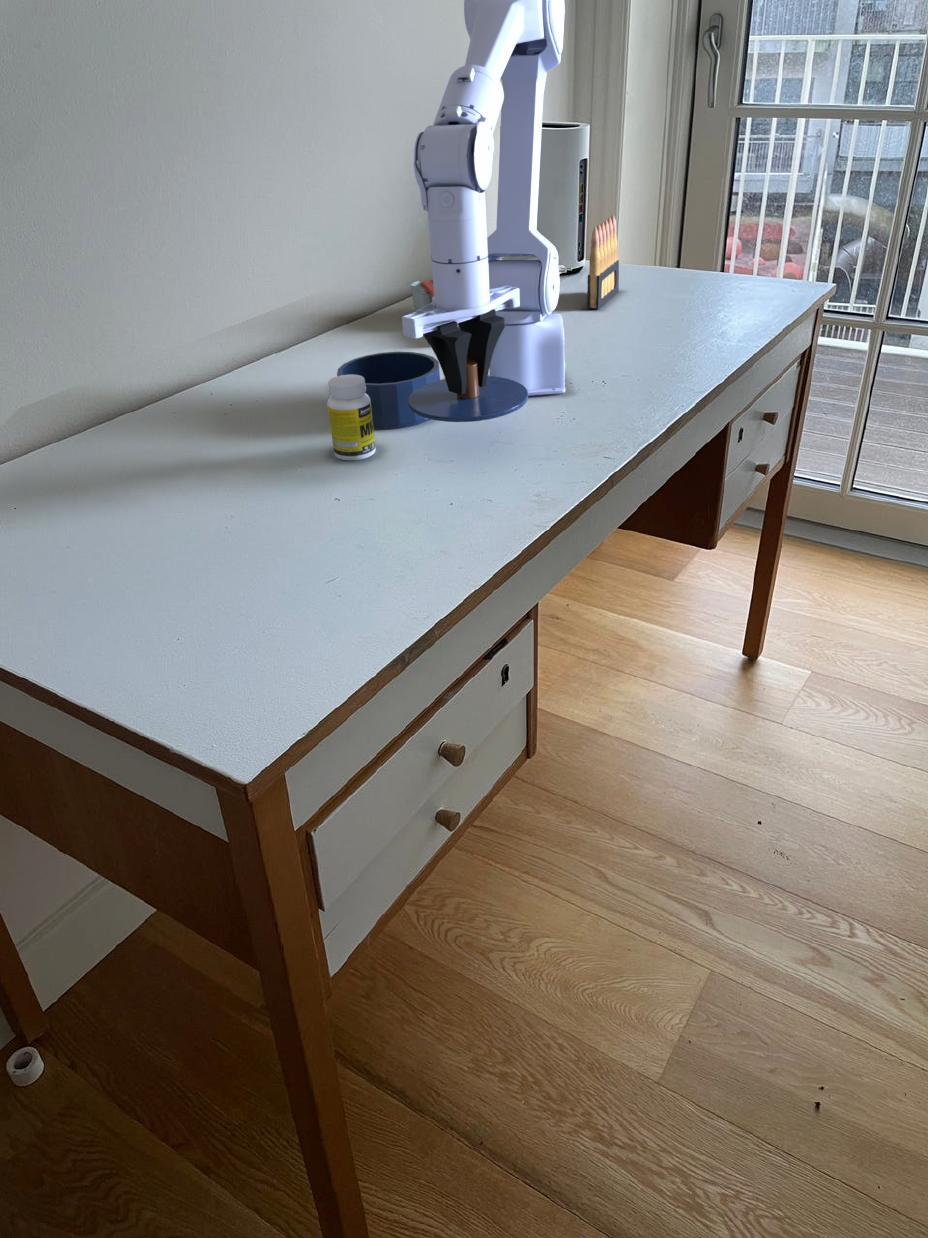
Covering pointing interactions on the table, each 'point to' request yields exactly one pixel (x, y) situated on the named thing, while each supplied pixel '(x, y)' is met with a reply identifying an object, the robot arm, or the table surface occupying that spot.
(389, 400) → the tin
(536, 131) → the robot arm
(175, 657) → the table surface
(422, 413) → the tin lid
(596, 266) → the ammunition clip
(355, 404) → the supplement bottle
